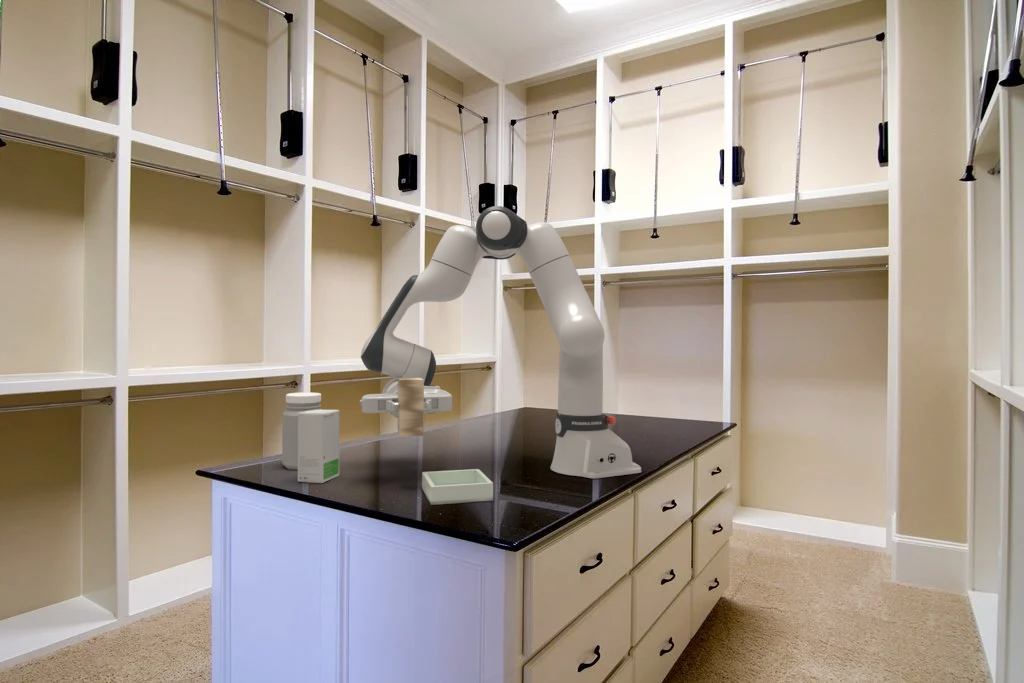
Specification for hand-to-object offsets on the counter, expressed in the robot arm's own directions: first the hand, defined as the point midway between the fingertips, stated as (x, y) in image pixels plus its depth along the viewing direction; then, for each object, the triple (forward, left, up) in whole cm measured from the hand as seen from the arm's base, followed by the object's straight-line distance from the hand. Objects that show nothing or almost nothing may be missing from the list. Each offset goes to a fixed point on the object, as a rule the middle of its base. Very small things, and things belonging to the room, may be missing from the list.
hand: (411, 406), depth 125 cm
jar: (+23, -27, -18) cm, 40 cm away
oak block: (0, -1, -6) cm, 6 cm away
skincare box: (+19, -13, -18) cm, 29 cm away
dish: (-9, +7, -18) cm, 21 cm away
